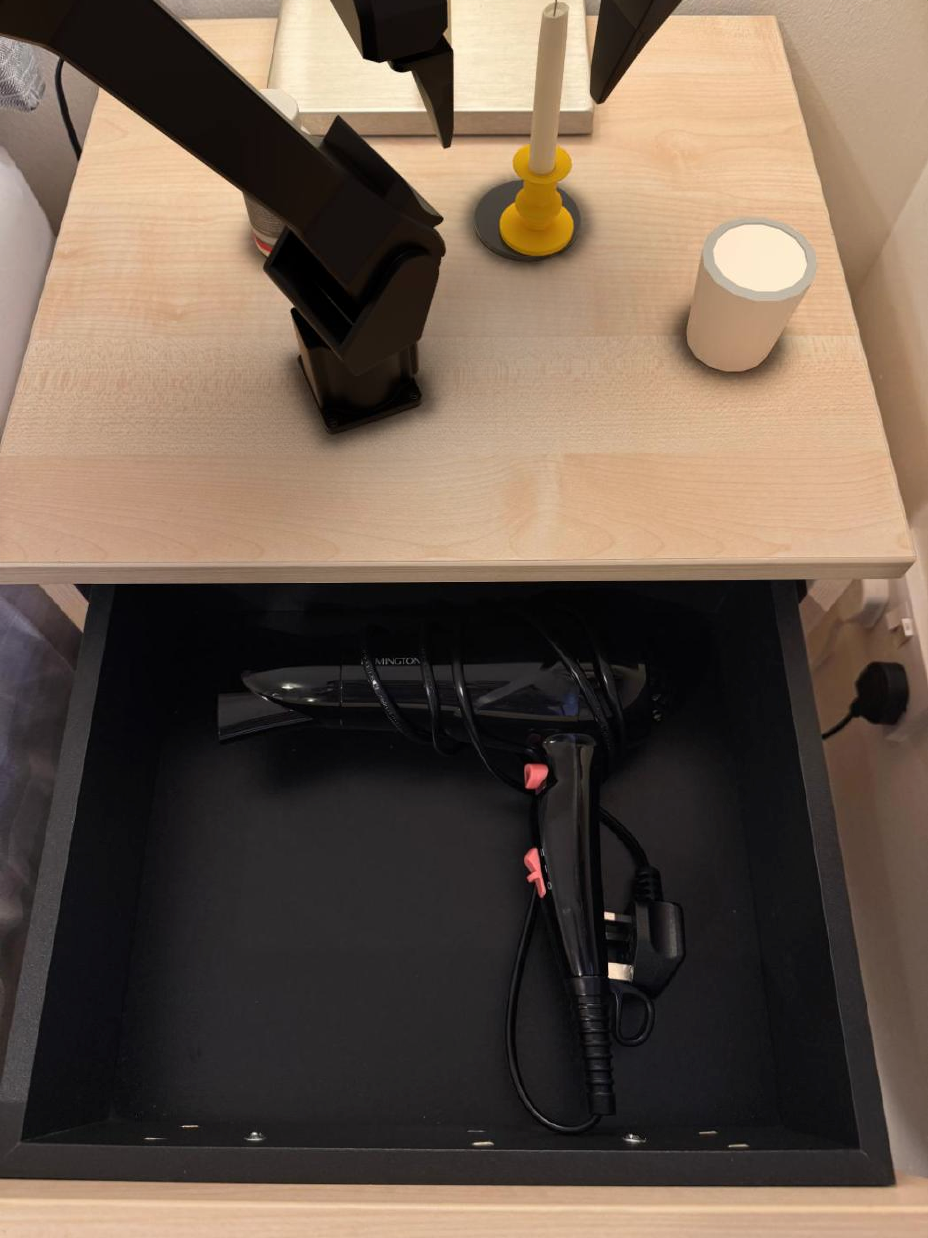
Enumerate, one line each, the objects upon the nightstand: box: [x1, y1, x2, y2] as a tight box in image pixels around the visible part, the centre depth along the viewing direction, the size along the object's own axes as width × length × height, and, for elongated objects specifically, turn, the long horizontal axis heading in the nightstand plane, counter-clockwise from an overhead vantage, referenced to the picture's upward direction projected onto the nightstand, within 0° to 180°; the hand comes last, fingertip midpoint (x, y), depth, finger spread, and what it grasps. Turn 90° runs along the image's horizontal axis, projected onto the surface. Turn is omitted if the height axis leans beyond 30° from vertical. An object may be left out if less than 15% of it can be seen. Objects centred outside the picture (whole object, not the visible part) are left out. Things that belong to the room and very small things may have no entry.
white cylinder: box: [685, 216, 819, 372], centre depth 56 cm, size 7×7×7 cm
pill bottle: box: [241, 88, 312, 258], centre depth 58 cm, size 5×5×10 cm
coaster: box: [473, 179, 581, 262], centre depth 63 cm, size 8×8×1 cm
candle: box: [500, 0, 574, 256], centre depth 55 cm, size 5×5×16 cm
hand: (521, 120), depth 48 cm, fingers open, 9 cm apart
